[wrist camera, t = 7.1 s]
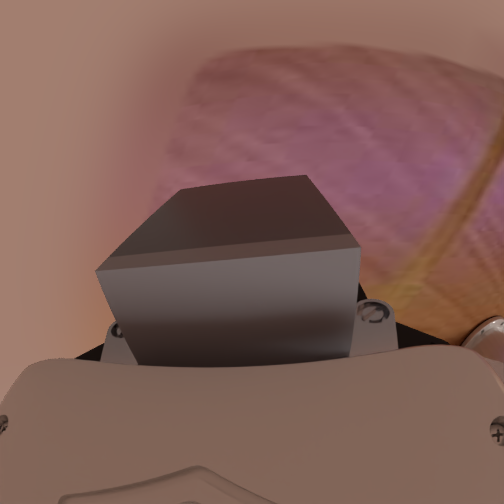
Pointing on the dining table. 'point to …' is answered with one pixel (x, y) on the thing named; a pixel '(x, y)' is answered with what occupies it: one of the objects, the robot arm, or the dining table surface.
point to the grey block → (237, 278)
